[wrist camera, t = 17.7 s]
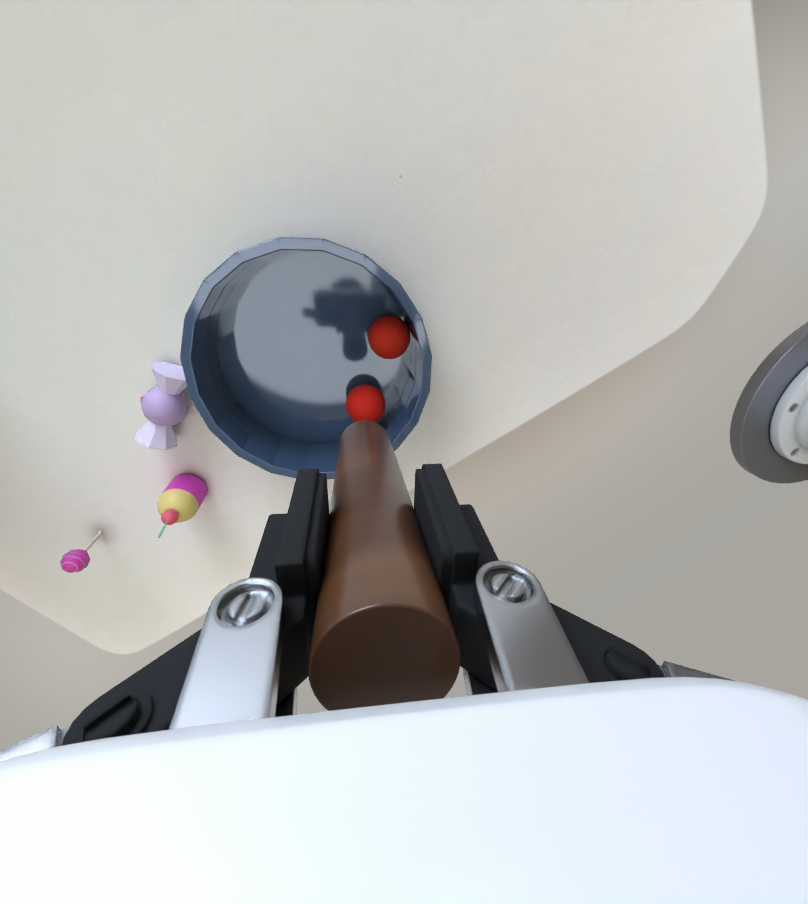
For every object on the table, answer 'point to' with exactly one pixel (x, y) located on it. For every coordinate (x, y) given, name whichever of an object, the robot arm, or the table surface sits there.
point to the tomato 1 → (365, 403)
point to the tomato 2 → (389, 337)
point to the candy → (158, 433)
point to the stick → (377, 589)
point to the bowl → (298, 352)
